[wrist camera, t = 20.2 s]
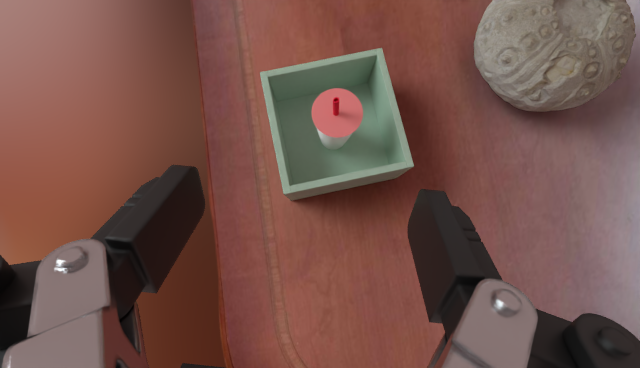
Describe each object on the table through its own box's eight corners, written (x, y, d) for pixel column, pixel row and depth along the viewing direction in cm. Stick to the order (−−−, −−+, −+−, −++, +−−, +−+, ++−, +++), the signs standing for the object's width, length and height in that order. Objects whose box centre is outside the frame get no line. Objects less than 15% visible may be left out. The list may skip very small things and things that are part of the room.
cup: (305, 133, 38) (299, 93, 26) (337, 111, 39) (345, 62, 27) (328, 165, 38) (333, 138, 26) (361, 142, 38) (379, 105, 26)
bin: (290, 200, 38) (283, 194, 30) (270, 100, 40) (259, 72, 33) (396, 178, 38) (414, 166, 31) (371, 79, 40) (381, 47, 33)
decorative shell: (590, 125, 39) (681, 91, 29) (461, 121, 39) (508, 85, 29) (577, 10, 42) (656, -57, 32) (457, 6, 42) (498, -61, 32)
